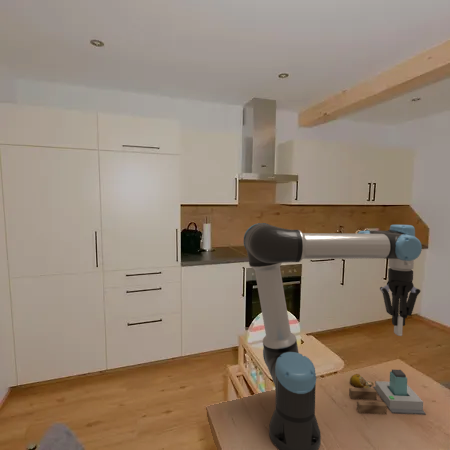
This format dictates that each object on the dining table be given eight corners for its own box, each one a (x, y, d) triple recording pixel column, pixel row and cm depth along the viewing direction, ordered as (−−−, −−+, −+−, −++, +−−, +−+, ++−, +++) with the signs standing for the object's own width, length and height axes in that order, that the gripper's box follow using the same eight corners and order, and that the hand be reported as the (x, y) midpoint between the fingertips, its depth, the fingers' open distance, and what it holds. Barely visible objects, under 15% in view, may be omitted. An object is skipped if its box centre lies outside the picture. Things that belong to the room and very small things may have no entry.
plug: (394, 402, 103) (395, 375, 102) (389, 395, 107) (390, 368, 106) (406, 402, 103) (407, 375, 102) (400, 395, 107) (401, 369, 106)
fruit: (372, 395, 108) (373, 385, 108) (348, 388, 112) (349, 379, 112) (373, 383, 115) (373, 374, 115) (350, 377, 119) (350, 368, 119)
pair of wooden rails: (359, 413, 98) (359, 404, 98) (349, 395, 107) (349, 387, 107) (386, 414, 98) (386, 405, 97) (374, 396, 107) (374, 388, 107)
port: (391, 413, 98) (392, 402, 98) (373, 387, 112) (373, 377, 112) (425, 414, 97) (426, 403, 97) (402, 388, 111) (403, 378, 111)
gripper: (386, 270, 99) (384, 338, 100) (426, 271, 98) (423, 339, 99) (376, 266, 106) (374, 329, 107) (413, 266, 105) (411, 330, 107)
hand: (398, 334), depth 103 cm, fingers closed
